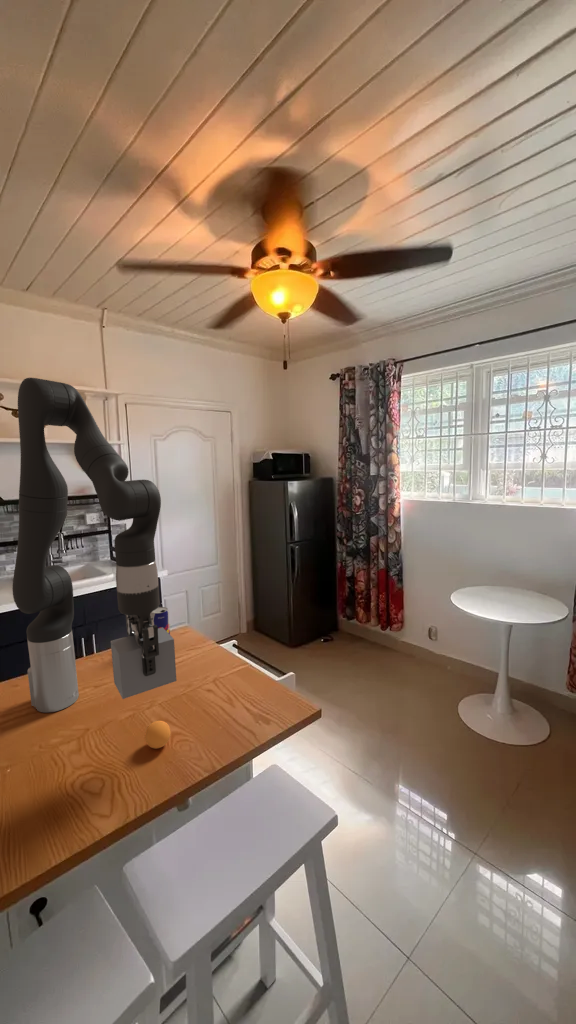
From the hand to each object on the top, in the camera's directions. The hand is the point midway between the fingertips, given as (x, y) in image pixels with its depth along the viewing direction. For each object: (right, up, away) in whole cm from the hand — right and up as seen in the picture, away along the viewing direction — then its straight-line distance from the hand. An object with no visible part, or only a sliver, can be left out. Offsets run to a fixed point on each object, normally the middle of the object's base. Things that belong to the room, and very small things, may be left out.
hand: (143, 666), depth 81 cm
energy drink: (-11, -12, +46) cm, 49 cm away
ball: (+2, -15, +3) cm, 15 cm away
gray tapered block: (0, -3, 0) cm, 3 cm away
